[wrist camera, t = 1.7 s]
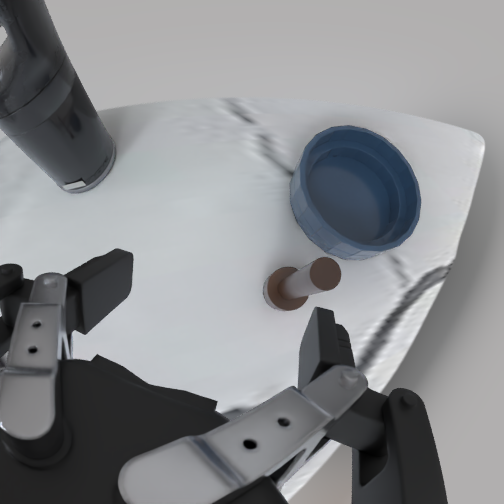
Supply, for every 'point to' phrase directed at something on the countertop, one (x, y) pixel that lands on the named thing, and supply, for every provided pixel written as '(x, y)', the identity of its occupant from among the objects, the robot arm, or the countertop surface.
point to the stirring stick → (300, 283)
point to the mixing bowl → (354, 193)
